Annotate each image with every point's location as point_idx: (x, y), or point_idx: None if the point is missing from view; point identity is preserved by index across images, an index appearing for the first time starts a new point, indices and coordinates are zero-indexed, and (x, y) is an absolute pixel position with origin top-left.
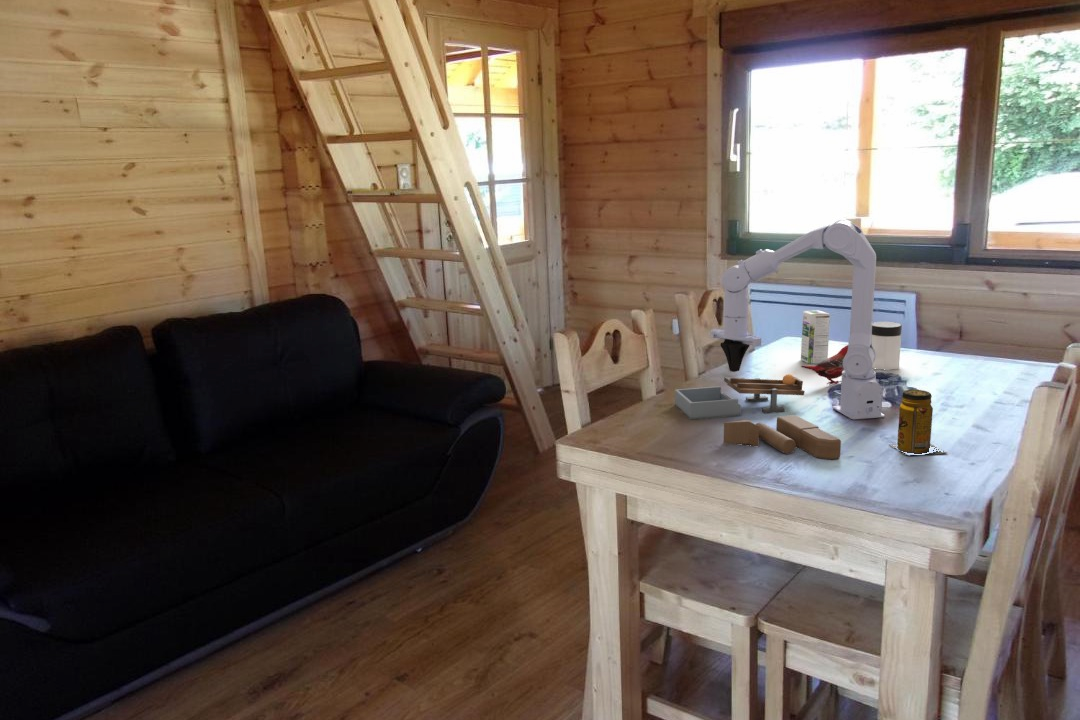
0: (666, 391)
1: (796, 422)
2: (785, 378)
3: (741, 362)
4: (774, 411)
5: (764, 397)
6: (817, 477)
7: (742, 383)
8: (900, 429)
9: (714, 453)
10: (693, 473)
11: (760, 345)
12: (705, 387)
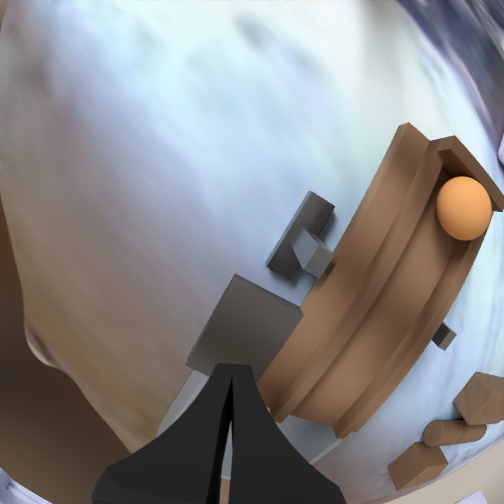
0: (47, 340)
1: (496, 414)
2: (469, 239)
3: (260, 395)
4: None
5: (326, 217)
6: (496, 428)
7: (354, 427)
8: None
9: (390, 481)
10: (391, 500)
11: (476, 495)
12: (183, 410)
